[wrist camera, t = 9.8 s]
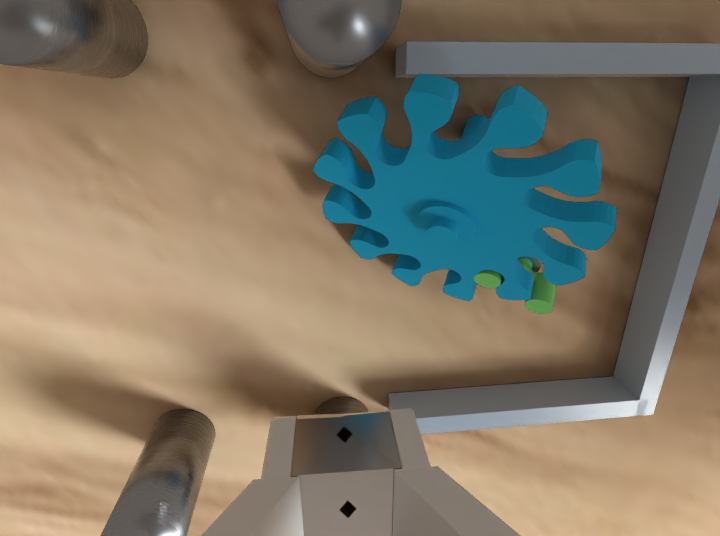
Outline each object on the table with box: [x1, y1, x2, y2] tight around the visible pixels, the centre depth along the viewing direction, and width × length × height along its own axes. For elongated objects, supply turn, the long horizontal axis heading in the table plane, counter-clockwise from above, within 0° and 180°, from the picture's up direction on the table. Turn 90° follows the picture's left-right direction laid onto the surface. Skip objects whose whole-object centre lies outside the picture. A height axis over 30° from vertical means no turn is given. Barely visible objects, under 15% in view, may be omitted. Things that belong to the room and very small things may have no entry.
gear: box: [313, 74, 617, 314], centre depth 16 cm, size 11×6×10 cm
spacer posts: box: [0, 0, 402, 536], centre depth 16 cm, size 11×21×6 cm, turn 0°
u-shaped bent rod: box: [388, 41, 720, 434], centre depth 19 cm, size 14×17×2 cm
